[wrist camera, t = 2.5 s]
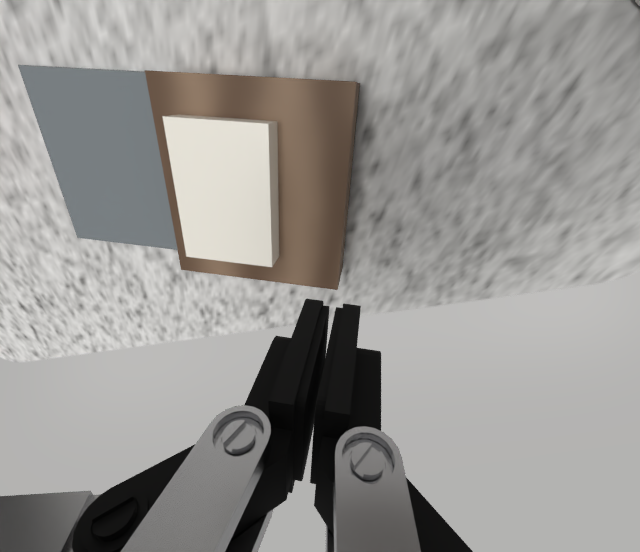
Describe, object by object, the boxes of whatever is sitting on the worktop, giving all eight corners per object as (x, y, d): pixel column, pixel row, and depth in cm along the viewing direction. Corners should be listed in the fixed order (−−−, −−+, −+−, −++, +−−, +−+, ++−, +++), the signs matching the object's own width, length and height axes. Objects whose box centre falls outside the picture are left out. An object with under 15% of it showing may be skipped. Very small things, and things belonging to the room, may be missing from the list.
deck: (359, 83, 23) (356, 81, 20) (342, 267, 31) (337, 289, 27) (177, 73, 25) (144, 70, 22) (202, 250, 32) (181, 269, 29)
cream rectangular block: (277, 121, 22) (268, 123, 20) (279, 256, 27) (272, 267, 25) (179, 114, 23) (162, 116, 21) (198, 246, 27) (186, 256, 26)
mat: (171, 73, 25) (168, 73, 25) (197, 250, 32) (195, 251, 32) (22, 65, 27) (17, 64, 26) (80, 236, 34) (77, 237, 34)
